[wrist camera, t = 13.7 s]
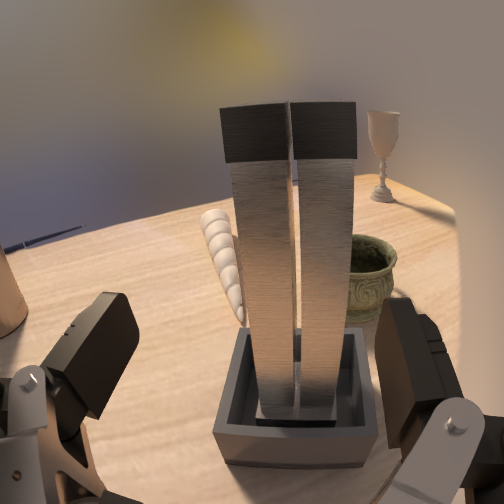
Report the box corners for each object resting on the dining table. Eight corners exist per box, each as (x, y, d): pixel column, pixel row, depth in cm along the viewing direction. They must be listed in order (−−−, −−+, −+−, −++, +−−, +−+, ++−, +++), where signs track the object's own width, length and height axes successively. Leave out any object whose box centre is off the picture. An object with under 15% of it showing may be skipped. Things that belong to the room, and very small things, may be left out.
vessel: (352, 350, 27) (359, 295, 24) (284, 311, 33) (282, 259, 30) (408, 291, 34) (417, 243, 31) (349, 266, 40) (351, 221, 37)
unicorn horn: (206, 331, 31) (197, 293, 29) (203, 236, 52) (198, 209, 50) (252, 324, 32) (247, 286, 30) (231, 232, 53) (227, 205, 51)
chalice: (404, 200, 59) (407, 113, 51) (381, 206, 57) (383, 113, 49) (382, 191, 65) (382, 110, 57) (358, 195, 63) (358, 110, 55)
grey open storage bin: (362, 466, 17) (378, 434, 14) (225, 463, 18) (212, 432, 16) (354, 369, 25) (362, 327, 22) (246, 369, 26) (239, 327, 24)
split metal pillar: (331, 441, 18) (363, 102, 9) (259, 439, 19) (210, 109, 10) (331, 386, 22) (344, 99, 13) (267, 385, 23) (239, 104, 14)
